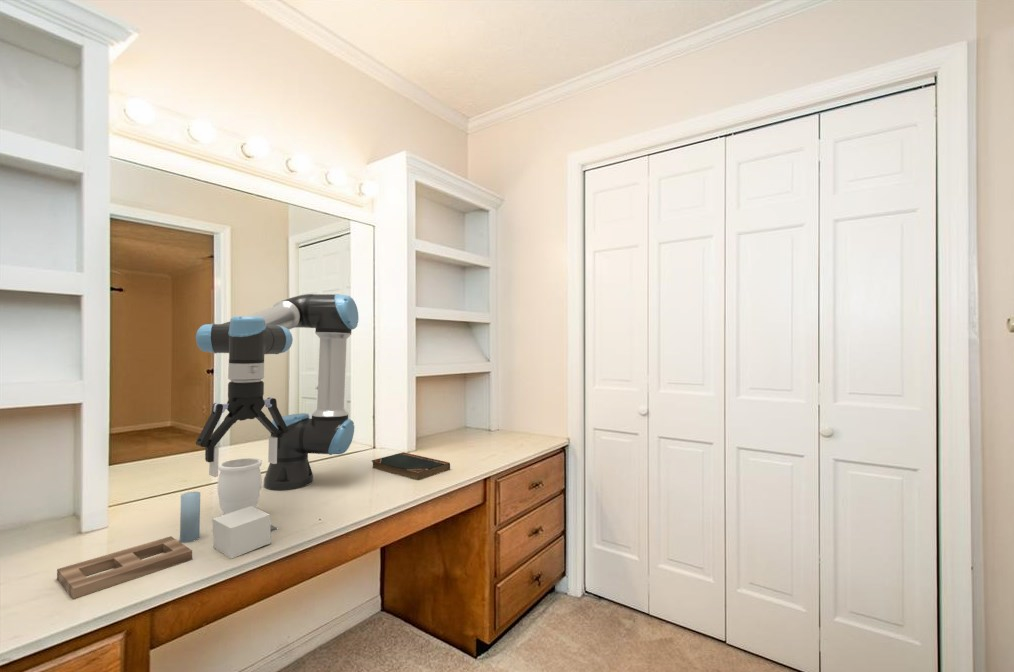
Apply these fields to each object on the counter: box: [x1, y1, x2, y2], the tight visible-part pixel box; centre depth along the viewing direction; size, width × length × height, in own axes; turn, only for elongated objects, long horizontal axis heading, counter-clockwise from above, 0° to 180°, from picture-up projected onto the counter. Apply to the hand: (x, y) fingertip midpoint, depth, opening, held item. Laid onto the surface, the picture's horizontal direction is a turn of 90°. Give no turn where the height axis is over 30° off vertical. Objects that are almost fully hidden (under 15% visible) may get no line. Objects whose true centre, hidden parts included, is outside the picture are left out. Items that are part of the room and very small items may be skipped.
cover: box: [212, 506, 272, 559], centre depth 112 cm, size 9×9×7 cm
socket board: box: [56, 535, 193, 600], centre depth 100 cm, size 12×20×2 cm, turn 145°
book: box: [371, 452, 451, 481], centre depth 179 cm, size 17×4×25 cm
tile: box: [270, 524, 278, 532], centre depth 121 cm, size 6×6×1 cm
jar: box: [217, 457, 263, 515], centre depth 129 cm, size 11×10×15 cm
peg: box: [179, 491, 201, 543], centre depth 115 cm, size 4×4×11 cm
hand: (244, 469), depth 112 cm, fingers open, 13 cm apart
